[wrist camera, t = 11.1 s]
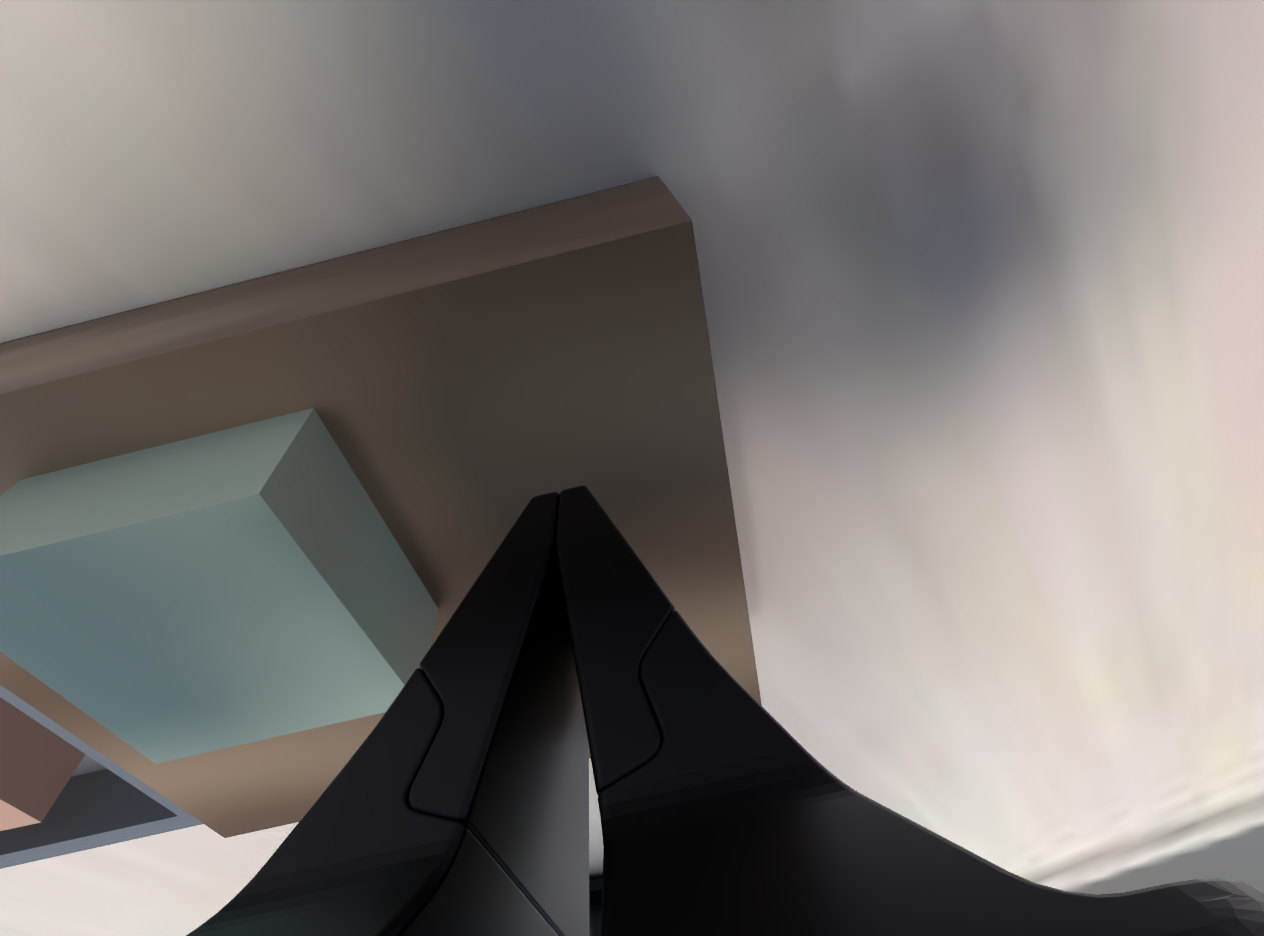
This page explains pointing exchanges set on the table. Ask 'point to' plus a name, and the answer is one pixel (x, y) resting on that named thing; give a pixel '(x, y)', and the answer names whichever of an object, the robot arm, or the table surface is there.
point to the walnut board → (421, 426)
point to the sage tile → (211, 589)
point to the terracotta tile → (30, 768)
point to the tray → (89, 806)
